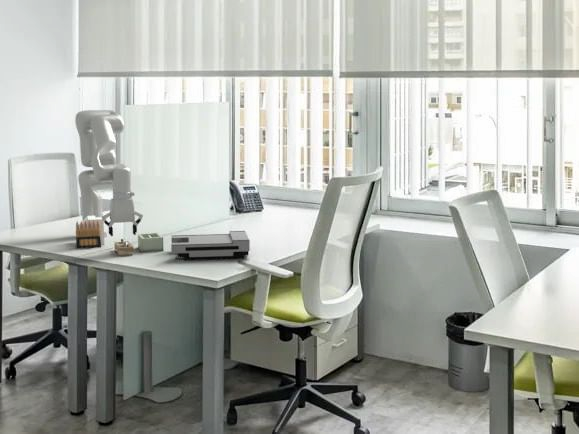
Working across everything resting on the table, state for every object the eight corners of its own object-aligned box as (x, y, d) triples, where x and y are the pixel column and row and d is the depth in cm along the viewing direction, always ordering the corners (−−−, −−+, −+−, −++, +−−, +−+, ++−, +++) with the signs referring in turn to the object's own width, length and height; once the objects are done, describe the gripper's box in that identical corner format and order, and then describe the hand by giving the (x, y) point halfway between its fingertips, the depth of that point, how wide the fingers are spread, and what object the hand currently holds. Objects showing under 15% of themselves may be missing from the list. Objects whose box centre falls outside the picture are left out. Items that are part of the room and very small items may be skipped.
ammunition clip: (76, 248, 331) (74, 221, 328) (76, 247, 332) (74, 221, 330) (101, 247, 333) (100, 220, 331) (101, 246, 335) (99, 220, 333)
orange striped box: (104, 245, 337) (103, 219, 335) (78, 246, 334) (77, 220, 332) (103, 240, 347) (102, 215, 345) (78, 242, 344) (76, 216, 342)
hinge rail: (116, 249, 328) (115, 238, 327) (127, 249, 330) (127, 237, 329) (120, 256, 316) (120, 244, 315) (132, 255, 318) (132, 243, 317)
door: (114, 248, 328) (114, 242, 327) (128, 247, 330) (128, 241, 329) (119, 255, 316) (119, 248, 315) (133, 254, 318) (133, 247, 317)
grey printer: (171, 251, 327) (171, 232, 326) (245, 249, 332) (245, 230, 330) (171, 262, 307) (171, 242, 305) (249, 259, 312) (249, 240, 310)
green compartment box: (138, 247, 333) (137, 234, 332) (158, 245, 337) (157, 232, 336) (142, 252, 323) (142, 238, 322) (163, 250, 326) (163, 237, 325)
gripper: (140, 193, 325) (141, 231, 329) (99, 195, 319) (101, 234, 322) (144, 196, 318) (144, 235, 322) (102, 198, 312) (103, 238, 316)
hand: (122, 235), depth 322 cm, fingers open, 9 cm apart
